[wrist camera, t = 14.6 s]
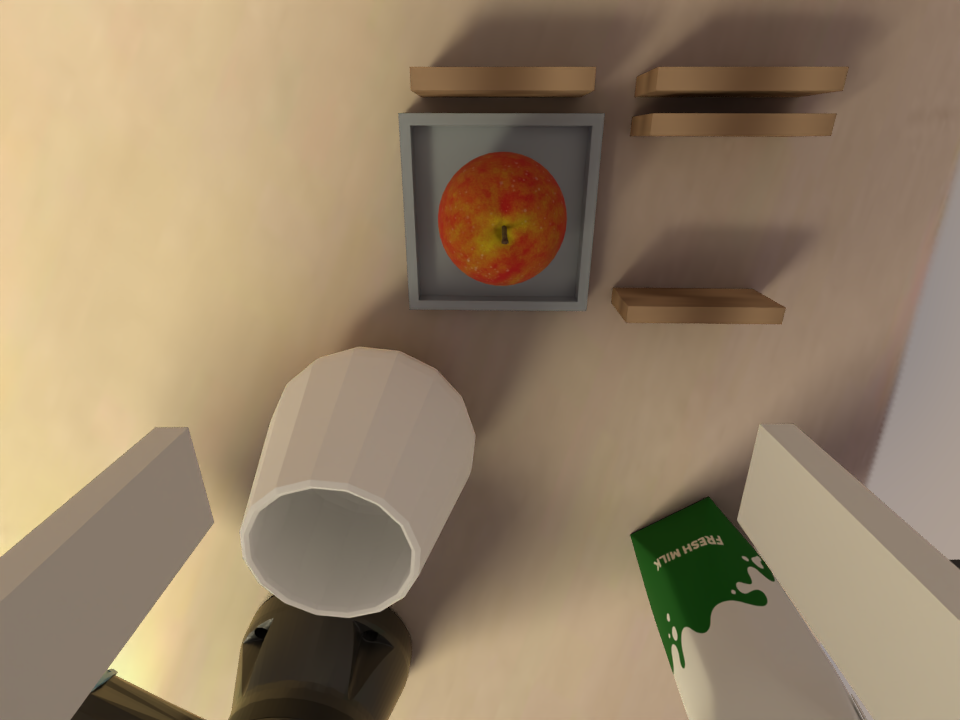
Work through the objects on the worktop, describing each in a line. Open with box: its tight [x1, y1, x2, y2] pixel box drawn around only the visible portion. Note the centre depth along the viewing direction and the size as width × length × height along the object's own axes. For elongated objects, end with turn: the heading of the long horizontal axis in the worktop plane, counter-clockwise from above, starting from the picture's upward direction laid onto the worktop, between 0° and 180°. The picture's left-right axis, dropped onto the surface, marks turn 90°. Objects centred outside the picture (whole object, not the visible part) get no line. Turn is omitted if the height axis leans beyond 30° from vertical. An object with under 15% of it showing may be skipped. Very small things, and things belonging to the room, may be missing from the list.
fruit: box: [438, 152, 567, 286], centre depth 27 cm, size 7×7×8 cm
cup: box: [240, 347, 476, 618], centre depth 30 cm, size 13×13×14 cm
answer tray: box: [398, 113, 605, 311], centre depth 30 cm, size 11×11×2 cm
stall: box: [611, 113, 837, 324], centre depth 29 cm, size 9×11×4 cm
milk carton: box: [630, 497, 867, 720], centre depth 32 cm, size 9×9×20 cm
